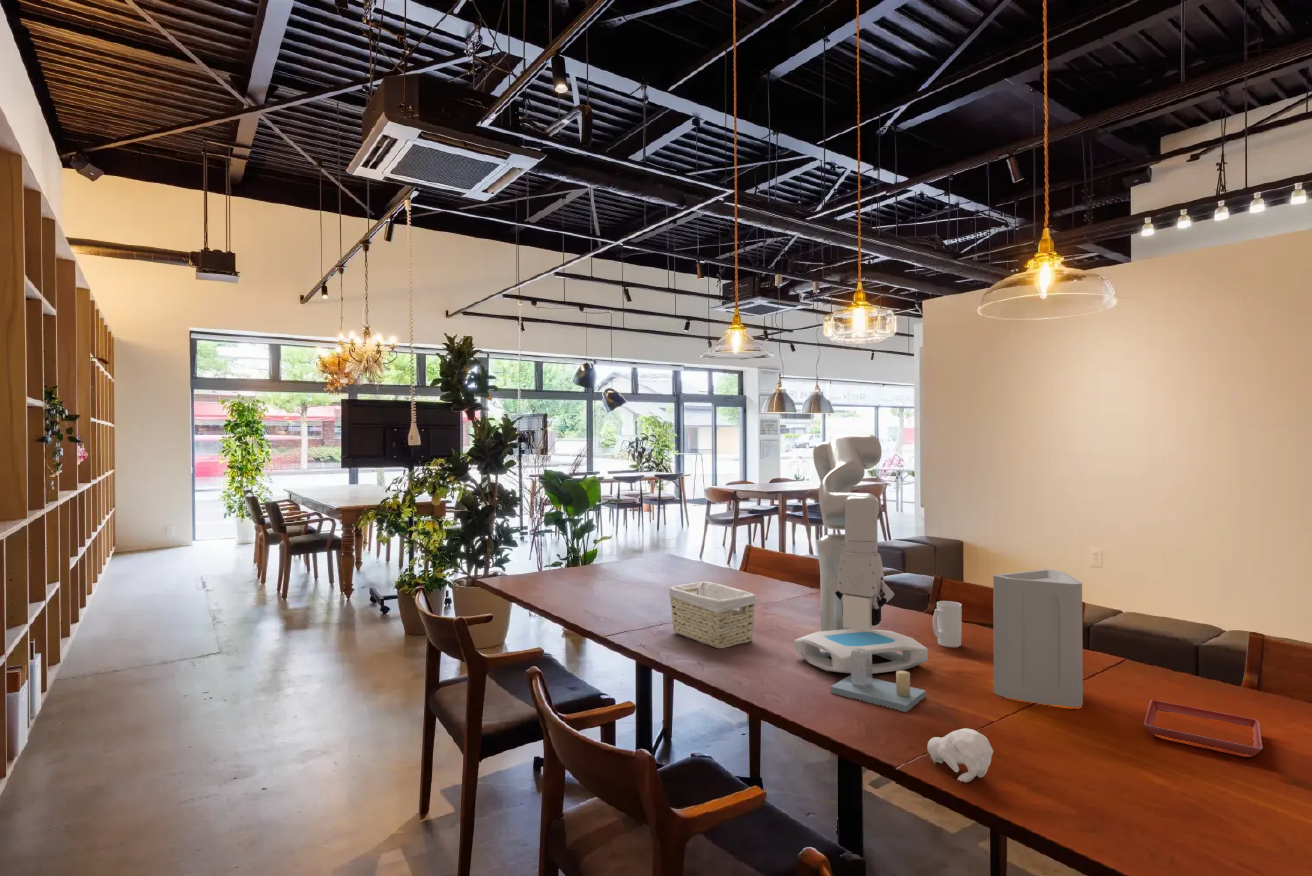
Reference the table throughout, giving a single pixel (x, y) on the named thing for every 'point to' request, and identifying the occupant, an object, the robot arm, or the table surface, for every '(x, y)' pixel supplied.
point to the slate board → (883, 692)
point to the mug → (948, 623)
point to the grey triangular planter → (1038, 637)
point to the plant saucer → (1205, 714)
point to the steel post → (861, 668)
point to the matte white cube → (858, 612)
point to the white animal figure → (962, 752)
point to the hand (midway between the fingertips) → (861, 621)
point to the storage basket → (712, 613)
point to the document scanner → (848, 640)
